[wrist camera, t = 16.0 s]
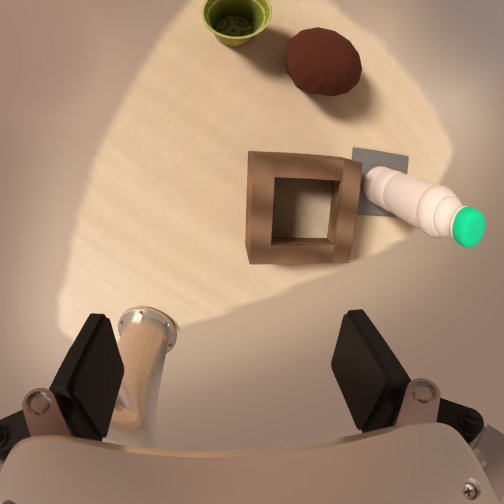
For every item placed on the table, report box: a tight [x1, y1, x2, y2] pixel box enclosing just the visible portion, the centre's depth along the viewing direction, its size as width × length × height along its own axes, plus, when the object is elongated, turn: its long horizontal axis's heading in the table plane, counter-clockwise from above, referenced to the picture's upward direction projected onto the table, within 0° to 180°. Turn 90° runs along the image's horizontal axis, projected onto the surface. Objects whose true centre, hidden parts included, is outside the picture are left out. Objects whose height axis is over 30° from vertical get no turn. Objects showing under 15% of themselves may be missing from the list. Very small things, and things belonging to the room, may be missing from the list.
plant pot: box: [201, 0, 272, 46], centre depth 32 cm, size 9×9×9 cm
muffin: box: [285, 27, 362, 96], centre depth 35 cm, size 12×11×10 cm
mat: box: [352, 147, 408, 217], centre depth 48 cm, size 12×12×1 cm
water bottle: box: [363, 166, 485, 248], centre depth 37 cm, size 7×7×25 cm
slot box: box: [245, 151, 362, 264], centre depth 45 cm, size 16×16×8 cm
